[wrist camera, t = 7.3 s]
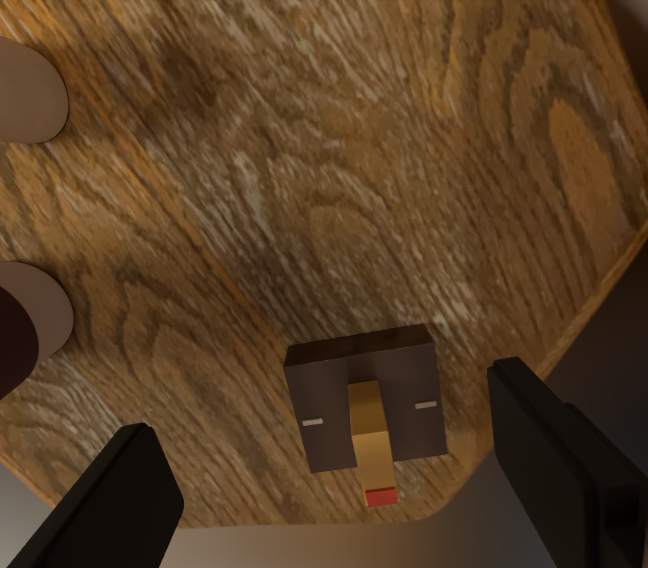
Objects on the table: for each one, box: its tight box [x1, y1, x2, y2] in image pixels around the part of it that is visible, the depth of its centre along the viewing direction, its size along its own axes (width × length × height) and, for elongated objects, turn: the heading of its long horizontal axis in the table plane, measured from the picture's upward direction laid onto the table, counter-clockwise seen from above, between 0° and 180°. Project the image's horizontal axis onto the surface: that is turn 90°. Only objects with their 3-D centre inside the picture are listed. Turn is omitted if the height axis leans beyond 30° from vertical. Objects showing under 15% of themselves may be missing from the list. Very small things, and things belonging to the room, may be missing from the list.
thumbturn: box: [348, 380, 400, 507], centre depth 23 cm, size 5×2×5 cm, turn 11°
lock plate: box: [283, 324, 448, 473], centre depth 27 cm, size 10×9×3 cm
